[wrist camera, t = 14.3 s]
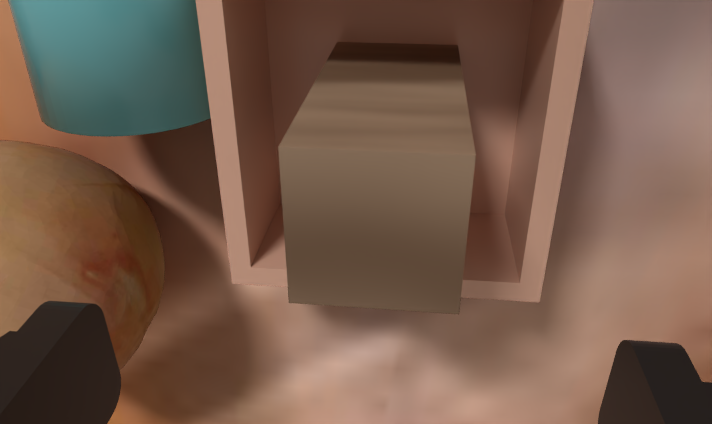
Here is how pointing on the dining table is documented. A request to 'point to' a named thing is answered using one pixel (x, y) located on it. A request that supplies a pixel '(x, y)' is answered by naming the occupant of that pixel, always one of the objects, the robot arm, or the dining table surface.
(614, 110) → the dining table surface
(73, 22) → the teal glossy cylinder
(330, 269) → the walnut block
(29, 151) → the onion
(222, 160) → the planter
